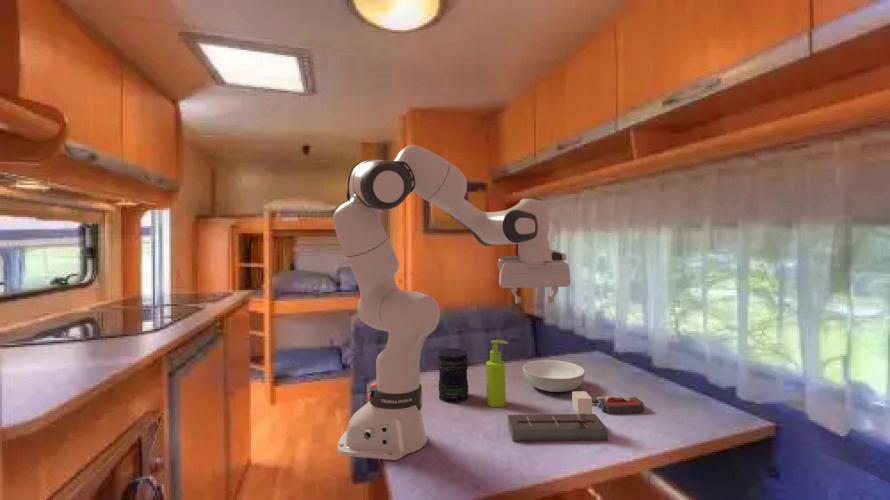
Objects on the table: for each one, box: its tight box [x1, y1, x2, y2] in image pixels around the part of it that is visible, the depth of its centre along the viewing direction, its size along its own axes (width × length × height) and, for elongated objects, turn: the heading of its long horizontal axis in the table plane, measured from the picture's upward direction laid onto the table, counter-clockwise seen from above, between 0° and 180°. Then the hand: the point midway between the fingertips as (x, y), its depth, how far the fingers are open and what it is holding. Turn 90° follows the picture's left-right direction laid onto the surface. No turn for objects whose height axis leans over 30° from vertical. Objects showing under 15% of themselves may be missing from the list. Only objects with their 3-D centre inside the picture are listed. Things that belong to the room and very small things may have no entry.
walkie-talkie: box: [592, 394, 645, 415], centre depth 121 cm, size 9×4×20 cm
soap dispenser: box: [485, 339, 509, 408], centre depth 126 cm, size 6×7×20 cm
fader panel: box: [507, 413, 609, 442], centre depth 106 cm, size 24×9×3 cm, turn 89°
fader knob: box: [571, 390, 593, 421], centre depth 106 cm, size 4×5×7 cm
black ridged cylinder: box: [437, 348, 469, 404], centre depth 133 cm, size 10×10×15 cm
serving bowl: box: [522, 359, 586, 393], centre depth 140 cm, size 21×21×7 cm
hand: (534, 303), depth 116 cm, fingers open, 8 cm apart
